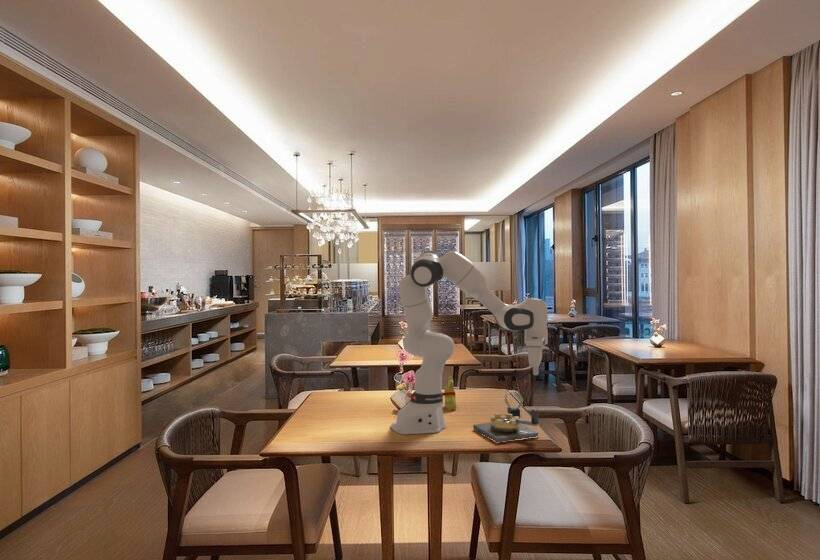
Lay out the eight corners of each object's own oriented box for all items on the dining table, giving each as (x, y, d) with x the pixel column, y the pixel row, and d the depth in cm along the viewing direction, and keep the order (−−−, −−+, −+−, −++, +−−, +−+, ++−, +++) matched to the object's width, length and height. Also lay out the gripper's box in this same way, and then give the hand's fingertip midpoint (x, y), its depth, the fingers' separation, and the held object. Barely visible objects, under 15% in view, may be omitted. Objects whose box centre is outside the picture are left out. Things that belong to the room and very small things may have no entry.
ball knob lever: (486, 429, 184) (486, 406, 184) (497, 421, 194) (497, 400, 194) (533, 437, 174) (533, 414, 174) (542, 429, 184) (542, 407, 184)
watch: (524, 417, 209) (524, 392, 209) (506, 417, 208) (506, 392, 208) (521, 413, 214) (521, 389, 214) (503, 413, 214) (503, 389, 214)
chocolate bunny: (452, 404, 230) (452, 373, 230) (458, 410, 219) (458, 378, 219) (438, 405, 229) (438, 374, 229) (443, 411, 218) (443, 378, 218)
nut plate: (497, 443, 174) (497, 437, 174) (473, 429, 191) (473, 424, 191) (538, 437, 181) (538, 431, 181) (511, 424, 198) (511, 419, 198)
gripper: (529, 336, 197) (529, 369, 197) (525, 341, 178) (525, 378, 177) (545, 336, 195) (545, 370, 195) (542, 342, 176) (542, 380, 175)
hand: (535, 374), depth 186 cm, fingers closed
